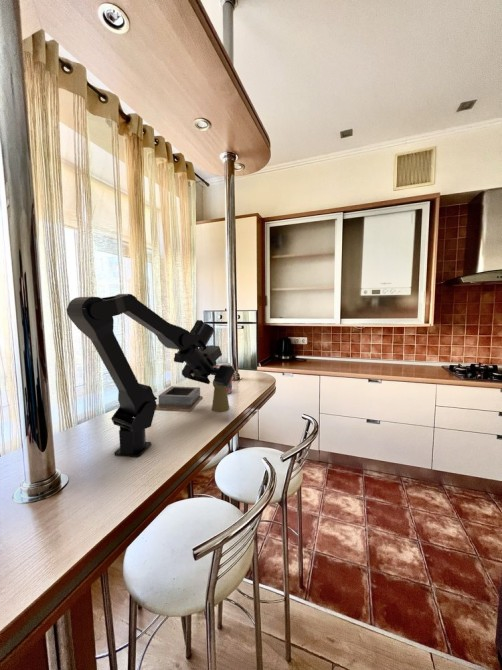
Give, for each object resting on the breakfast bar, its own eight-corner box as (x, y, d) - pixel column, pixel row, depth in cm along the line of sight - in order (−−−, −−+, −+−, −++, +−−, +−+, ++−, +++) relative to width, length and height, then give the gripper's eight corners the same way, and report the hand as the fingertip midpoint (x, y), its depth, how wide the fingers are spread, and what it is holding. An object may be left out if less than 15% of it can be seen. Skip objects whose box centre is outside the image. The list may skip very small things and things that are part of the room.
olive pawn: (230, 406, 101) (230, 375, 100) (227, 412, 95) (227, 380, 94) (214, 405, 101) (213, 375, 100) (209, 411, 95) (209, 379, 94)
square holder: (190, 411, 95) (189, 399, 95) (153, 409, 97) (153, 397, 96) (202, 398, 109) (202, 387, 109) (170, 396, 111) (169, 386, 110)
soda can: (213, 390, 118) (213, 362, 117) (230, 389, 121) (229, 361, 119) (216, 396, 112) (216, 366, 110) (234, 394, 114) (233, 365, 113)
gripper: (230, 340, 85) (251, 369, 96) (186, 336, 96) (209, 362, 106) (213, 371, 80) (237, 398, 90) (169, 363, 90) (195, 388, 100)
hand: (219, 385), depth 97 cm, fingers open, 9 cm apart
